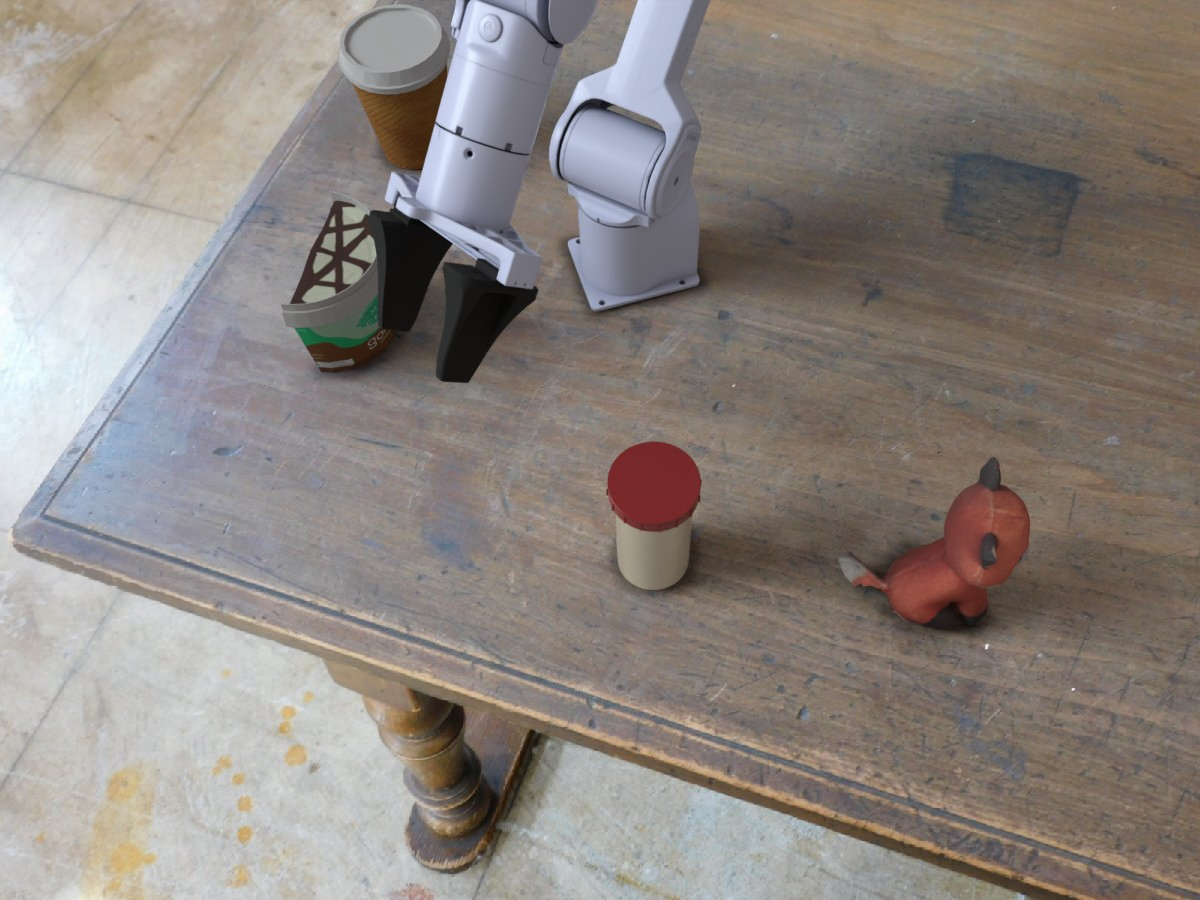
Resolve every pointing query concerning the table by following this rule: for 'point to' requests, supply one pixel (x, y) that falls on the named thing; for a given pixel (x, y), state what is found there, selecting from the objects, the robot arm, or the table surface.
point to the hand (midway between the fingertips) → (422, 353)
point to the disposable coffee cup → (397, 76)
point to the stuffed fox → (956, 558)
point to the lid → (654, 486)
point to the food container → (340, 292)
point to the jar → (653, 554)
